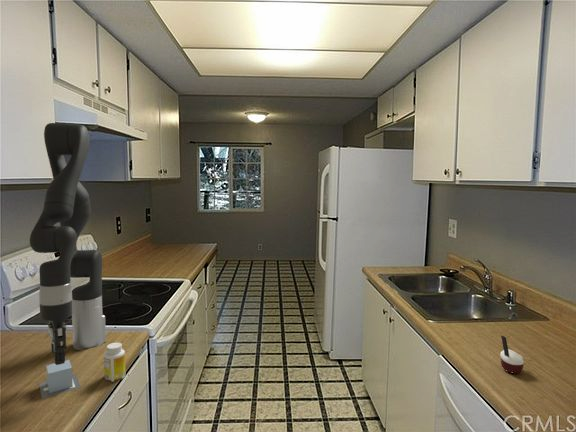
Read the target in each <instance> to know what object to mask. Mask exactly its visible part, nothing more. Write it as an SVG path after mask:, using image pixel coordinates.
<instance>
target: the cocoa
mask: <svg viewBox="0 0 576 432" xmlns="http://www.w3.org/2000/svg"><path fill="white" fill-rule="evenodd" d="M501 342H502V347H503V350H501V351H500V362H501V368H502V367H503V368H504V369H505V370H507V371H509V372H513V373H518V374H519V373H522V372H523V368H524V363H525V360H524V357H523V355H521V354H519V353H517V352H516V351H514V350H512V349H509V347H508V342H507V337H506V336H503V335H501ZM503 368H502V369H503ZM504 369H503V370H504ZM505 370H504V371H505Z"/></svg>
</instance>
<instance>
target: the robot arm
mask: <svg viewBox="0 0 576 432" xmlns="http://www.w3.org/2000/svg"><path fill="white" fill-rule="evenodd" d="M43 137H44V138H43V139H44V145H45V150H46V152H47V153H46V154H47V157H48V161H49V166H50V170H51V175H52V178H53V179H52V180H51V181H50V183H49V185H48V187H47V189H46V191H45V197H44V201H43V202H44V203H43V209H42V211H41V213H40V216H39V218H38V220H37V222H36V223H35V225H34V226H33V229H32V230H31V233H30V236H29V245H30V248H31V249H32V250H33V251H34V252H35V253H40V254H47V253H49V254H50V253H55V254H57V253H59V256H58V258H56V259H54V260H53V259H52V260H49V261H45V262H42V263H41V264H40V265H39V293H38V296H39V297H38V298H39V299H38V300H39V319H40V320H41V321H43V322H44V321H45V322H48V323H47V329H48V336H49V338H50V343H51V344H50V345H51V347H50V348H51V353H52V354H54V363H55V364H56V365H59V364H63V363H65V361H66V353H65V351H66V350H67V347H68V346H67V341H66V340H67V332H66V331H67V324H66V321H65V319H68V318H70V317H71V321H72V324H71V325H72V345H73V346H72V347H73V349H74V350H76V351H83V350H87V349H92V348H97V347H101V346H102V345H103V344H104V343H105V342H107V340H106V339H107V338H106V337H107V335H106V334H107V333H106V315H104V314H103V256H102V252H101V251H100V250H98V249H88V250H87V249H80V250H79V249H78V248H77V244H78V239H79V237H80V235H81V234H82V232H83V230H84V229H85V227H86V225H87V224H88V223H89V220H90V218H91V215H92V209H91V199H90V195H89V192H88V191H87V188H85V186H84V185H83V184H82V183H81V182H80V179H81V175H82V172H83V169H84V166H85V162H86V160H87V156H88V153H89V149H90V134H89V131H88V128H87V127H86V126H85V125H83V124H80V123H79V124H78V123H62V122H61V123H60V122H49V123H47V124H46V125H45V127H44V132H43ZM65 156H70V159H69V161H68V162H66V159H65ZM58 223H59V226H57V225H56V224H58ZM71 278H73V279H77V278H83V279H84V278H89V281H88V282H86V283H84V284H81V285H78V286H76V287H74V288H73V289H72V283H71Z"/></svg>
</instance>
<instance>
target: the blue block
mask: <svg viewBox="0 0 576 432" xmlns="http://www.w3.org/2000/svg"><path fill="white" fill-rule="evenodd" d="M45 370H46V381H47V386H48V390H49V393H52V392H56V391H59V390H63V389H66V388H70V387H73V381H72V374H73V368H72V364H71V362H70V359H67V360H66V359H65V363H63V364H59V365H56V364H55V362H54V363H49V364H46V369H45Z"/></svg>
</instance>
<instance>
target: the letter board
mask: <svg viewBox="0 0 576 432" xmlns="http://www.w3.org/2000/svg"><path fill="white" fill-rule="evenodd" d="M72 381H73V387H70V388H66V389H63V390H59V391H56V392H52V393H49V390H48V386H47V380H46V381H42V382H39V383H38V384H39V391H40V395H41V399H43V400H44V399H46V398H50V397H53V396H54V397H55V396H57V395H61V394H64V393H68V392H71V391H72V392H73V391H75V390H78V389H81V388H82V387H81V384H80V381H79V379H78V376H77V374H76V373H72Z"/></svg>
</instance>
